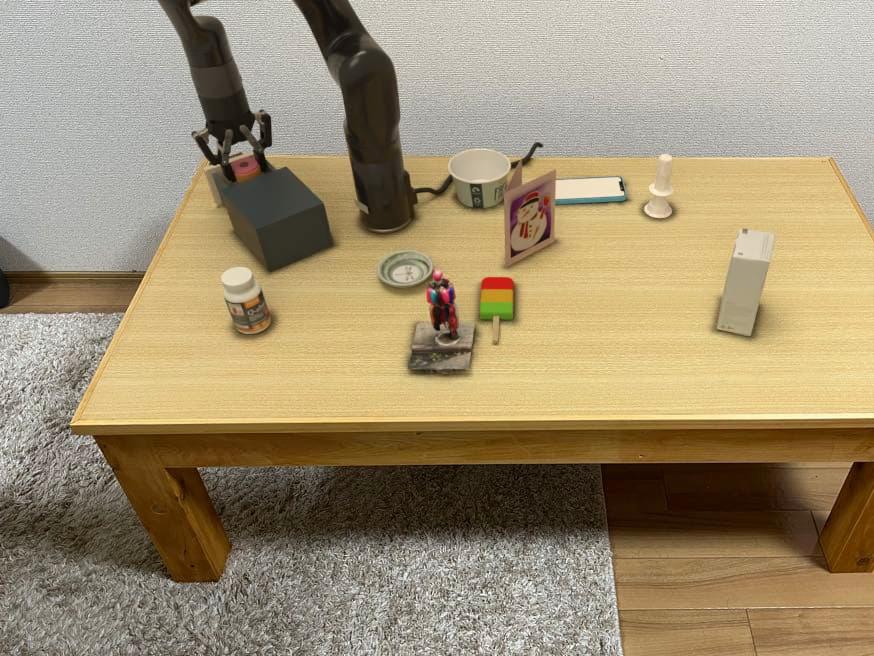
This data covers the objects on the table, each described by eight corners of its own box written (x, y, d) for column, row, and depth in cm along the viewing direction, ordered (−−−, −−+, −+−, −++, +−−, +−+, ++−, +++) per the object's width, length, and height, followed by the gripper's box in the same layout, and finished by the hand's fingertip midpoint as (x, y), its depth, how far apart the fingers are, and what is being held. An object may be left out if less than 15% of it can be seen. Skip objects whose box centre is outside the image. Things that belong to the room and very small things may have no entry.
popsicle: (514, 284, 133) (513, 275, 131) (512, 345, 123) (512, 336, 121) (482, 284, 133) (481, 275, 131) (478, 345, 123) (477, 336, 121)
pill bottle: (262, 338, 123) (245, 290, 116) (229, 332, 124) (210, 284, 116) (277, 314, 127) (262, 267, 119) (245, 309, 127) (227, 262, 120)
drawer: (204, 190, 149) (191, 156, 143) (259, 171, 154) (249, 137, 148) (244, 236, 139) (232, 201, 134) (301, 213, 144) (292, 179, 139)
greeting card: (508, 269, 135) (507, 196, 124) (482, 249, 139) (478, 176, 128) (556, 243, 140) (559, 171, 129) (530, 225, 144) (530, 153, 133)
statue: (418, 332, 126) (408, 252, 116) (475, 333, 126) (469, 252, 116) (408, 374, 118) (395, 292, 108) (468, 375, 118) (461, 293, 108)
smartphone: (547, 179, 153) (621, 175, 153) (547, 184, 154) (621, 180, 154) (550, 200, 148) (627, 197, 148) (550, 206, 149) (626, 202, 149)
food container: (457, 175, 155) (455, 145, 150) (515, 180, 154) (515, 150, 149) (444, 209, 147) (441, 179, 142) (505, 215, 146) (505, 184, 141)
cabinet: (234, 232, 141) (219, 189, 135) (297, 208, 147) (286, 166, 140) (269, 272, 134) (255, 229, 127) (334, 245, 139) (324, 202, 132)
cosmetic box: (750, 337, 124) (772, 264, 113) (713, 329, 126) (731, 256, 114) (756, 305, 130) (778, 232, 119) (721, 297, 131) (739, 224, 120)
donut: (255, 165, 144) (251, 153, 142) (267, 178, 141) (263, 165, 139) (228, 175, 141) (224, 162, 139) (240, 188, 139) (236, 175, 137)
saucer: (372, 268, 135) (370, 257, 133) (424, 255, 138) (423, 244, 136) (387, 301, 129) (385, 290, 127) (441, 287, 132) (440, 276, 130)
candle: (676, 208, 148) (686, 151, 139) (664, 221, 145) (673, 165, 136) (651, 199, 150) (659, 143, 141) (639, 212, 147) (646, 156, 138)
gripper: (250, 65, 133) (274, 154, 146) (168, 89, 127) (201, 179, 140) (268, 81, 129) (292, 171, 142) (185, 107, 123) (217, 198, 136)
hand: (247, 174), depth 141 cm, fingers closed on donut, 5 cm apart
